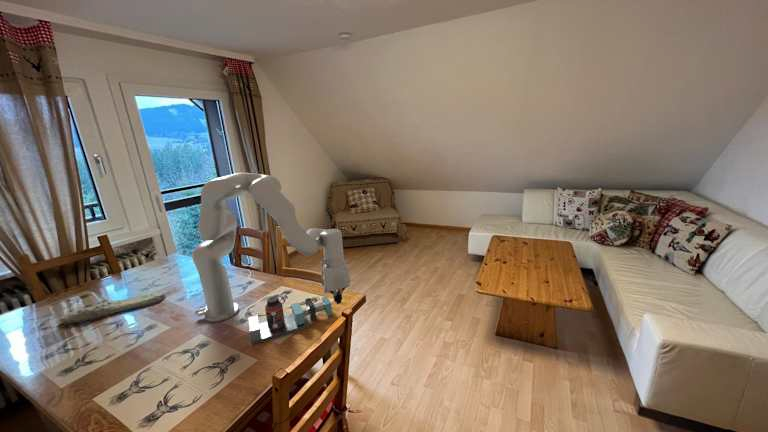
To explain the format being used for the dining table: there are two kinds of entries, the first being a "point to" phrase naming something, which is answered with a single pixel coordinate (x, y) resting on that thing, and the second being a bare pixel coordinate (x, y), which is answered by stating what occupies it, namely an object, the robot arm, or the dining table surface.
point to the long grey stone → (110, 308)
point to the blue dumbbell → (301, 312)
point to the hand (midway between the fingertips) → (338, 302)
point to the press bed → (264, 334)
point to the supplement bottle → (274, 313)
